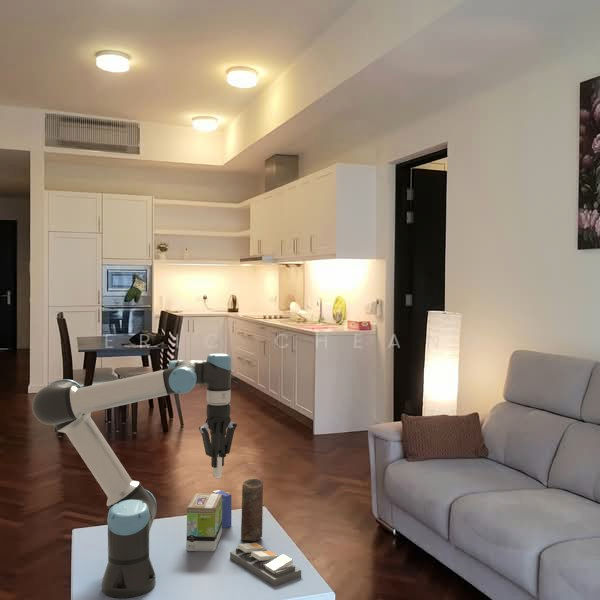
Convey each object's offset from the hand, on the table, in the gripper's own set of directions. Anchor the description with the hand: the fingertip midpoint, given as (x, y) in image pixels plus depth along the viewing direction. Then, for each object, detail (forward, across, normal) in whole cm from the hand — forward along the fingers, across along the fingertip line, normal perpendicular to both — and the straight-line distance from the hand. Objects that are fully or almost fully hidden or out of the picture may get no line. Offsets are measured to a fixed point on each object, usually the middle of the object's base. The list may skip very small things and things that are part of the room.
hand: (217, 477), depth 200 cm
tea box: (+28, +5, +16) cm, 32 cm away
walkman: (+27, +18, +26) cm, 41 cm away
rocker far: (+23, +10, -5) cm, 26 cm away
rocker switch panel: (+27, +10, -12) cm, 31 cm away
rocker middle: (+23, +10, -12) cm, 28 cm away
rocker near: (+23, +10, -20) cm, 32 cm away
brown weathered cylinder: (+27, +19, +8) cm, 34 cm away
